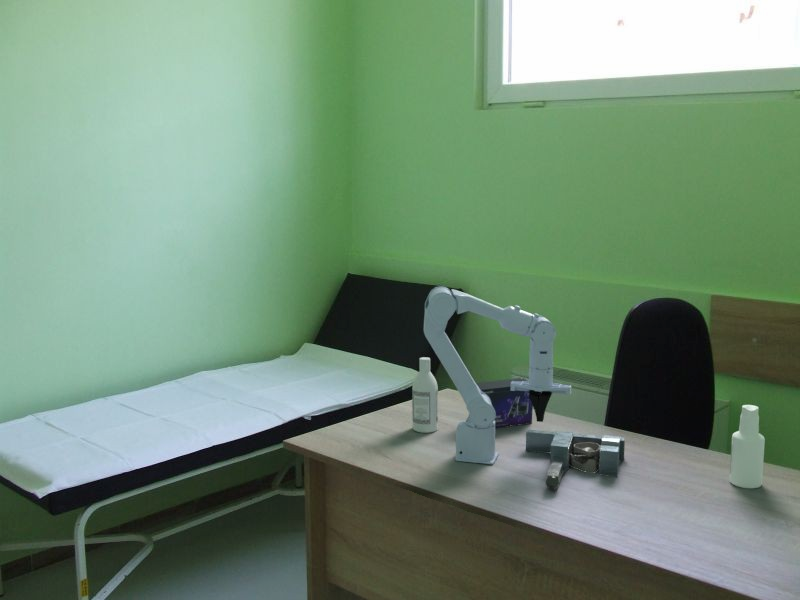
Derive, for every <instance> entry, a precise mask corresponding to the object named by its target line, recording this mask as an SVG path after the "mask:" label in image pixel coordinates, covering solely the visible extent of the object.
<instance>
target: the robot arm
mask: <svg viewBox="0 0 800 600" xmlns="http://www.w3.org/2000/svg"><path fill="white" fill-rule="evenodd" d="M455 312H456V314H457V315H460V314H464V313H466V312H470V313H474V314H477V315H480V316H483V317H485V318H489V319H492V320H494V321H498V323H499V325H500V327H501V328H502V330H503V329H504V330H507V331H508V332H511V333H514V334H517V335H520V336H523V337H529V343H530V344H529V348H528V349H529V354H528V356H529V358H528V359H529V361H528V366H529V367H528V381H512V382H511V391H515V390H519V391H529V399H530V401H531V403H532V405H533V409H534V414H535V417H536V422H540V423H543V422H544V419H545V418H544V417H545V413H546V409H547V406H548V404H549V401H550V399H551V397H552V395H553V394H559V395H561V394H562V395H565V396H571V394H572V385H567V384H562V383H557V382H554V381H553V379H554V377H553V376H554V340H555V339H556V338H557V332H556V328H555V326H554V324H553V323H552V322H551V321H550V320H549V319H547V318H546V317H544V316H543V315H540V314H538V313H536V312H535V313H531V312H528V311H525V310H522V309H521V306H519V305H518V304H517V305H516V304H515V305H514V306H512V305H508V306H506V307H504V308H503V307H500V306H498V305H495V304H493V303H491V302H488V301H487V300H486V301H485V300H483V299H481V298H478V297H476V296H473V295H472V294H469V293H466V292H462V291H460V290H457V289H453V288H452V289H451V290H450V288H448V287H446V286H435V287H433V288H432V289H431V290H430V291H429V293H428V295H427V297H426V300H425V302H424V316H423V317H424V318H423V334H424V336H425V338H426V340H427V341H428V343H429V344H430V346H431V348H432V350H433V351H434V353H435V355H436V356H437V358H438V359H439V361H440V363H441V364H442V366H443V368H444V369H445V371H446V372H447V374H448V376H449V378H450V379H451V381H452V382H453V384H454V386H455V388H456V389H457V390H458V391H457V392H458V393H459V394H460V396H461V398H462V400H463V402H464V403H465V406H466V410H467V412H468V416H467V418H466V420H465V421H459V422H458V423H457V426H456V433H455V461H457V462H464V463H465V462H466V463H474V464H475V463H476V464H484V465H494V464H495V462H496V460H497V458H498V457H499V454H500V451H496V428H495V417H496V412H495V409H494V408H493V406H492V403H491V400H490V398H489V396H488V395H487V394H485V393H483V392H482V391H481V390H480V389H479V387H478V385H477V384H476V383H477V382H476V381H475V379H474V378H473V377H472V375H471V373H470V371H469V370H468V368H467V366H466V365H465V363H464V362H463V360H462V358H461V356H460V355H459V353H458V351H457V350H456V348H455V347H454V344H453V343H452V342H451V340H450V338H449V336H448V334H447V333H446V332H445V331H446V328H447V325H448V321H449V320H450V319H451V317H452V316H453V315H454V313H455Z"/></svg>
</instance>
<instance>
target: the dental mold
mask: <svg viewBox="0 0 800 600" xmlns="http://www.w3.org/2000/svg"><path fill="white" fill-rule="evenodd" d="M600 449H601V447H600V445H599V444H597V443H592V442H587V443H578V444H574V453H581V454H582V453H583V454H585V455H578V456H577V455H573V454H571V453H570V464H569V466H570V465H571V466H572V467H571V466H570V467H571V468H573V467H575V468H574V469H576V468H578V469H577V470H579V469H580V470H579V471H581V470H582V471H581V472H584V471H586V472H585V473H590V472H596V471H597V470H598V469H599V470H600V468H599V466H598V465H599V464H600V463H599V460H600V458H599V457H600ZM599 470H598V471H599ZM598 471H597V472H598ZM597 472H596V473H597Z"/></svg>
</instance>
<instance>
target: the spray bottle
mask: <svg viewBox="0 0 800 600" xmlns="http://www.w3.org/2000/svg"><path fill="white" fill-rule="evenodd" d="M759 410H760V409H759V406H757V405H755V404H754V405H752V404H743V405H742V406H741V414H740V420H739V428H738V431H737V430H736V431H735V432H733V433H732V434H731V435H732V436H731V447H730V449H731V450H730V460H729V461H730V463H729V464H730V465H729V482H730V483H731V485H733V486H736V487H739V488H741V489H758V488H760V487H762V483H763V472H764V457H765V446H766V445H765V444H766V443H765V442H766V439H765V436H764V435H762V433H760V415H759Z"/></svg>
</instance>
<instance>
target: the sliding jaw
mask: <svg viewBox="0 0 800 600" xmlns="http://www.w3.org/2000/svg"><path fill="white" fill-rule="evenodd" d="M555 432H556V433H555V436H554V438H553V441H552V443H551V453H549V454H550V457H549V459H550V461H549V462H550V463H549V465H550V466H549V469H548V472H547V475H546V479H545V481H544V482H545V486H546V487H547V488H548V489H549V490H556V489H559V486H560V482H561V479H562V476H563V473H564V472H568V469H569V466H570V453H571V454H572V441H573V433H574V432H572V431H563V430H556V431H555Z"/></svg>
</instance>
